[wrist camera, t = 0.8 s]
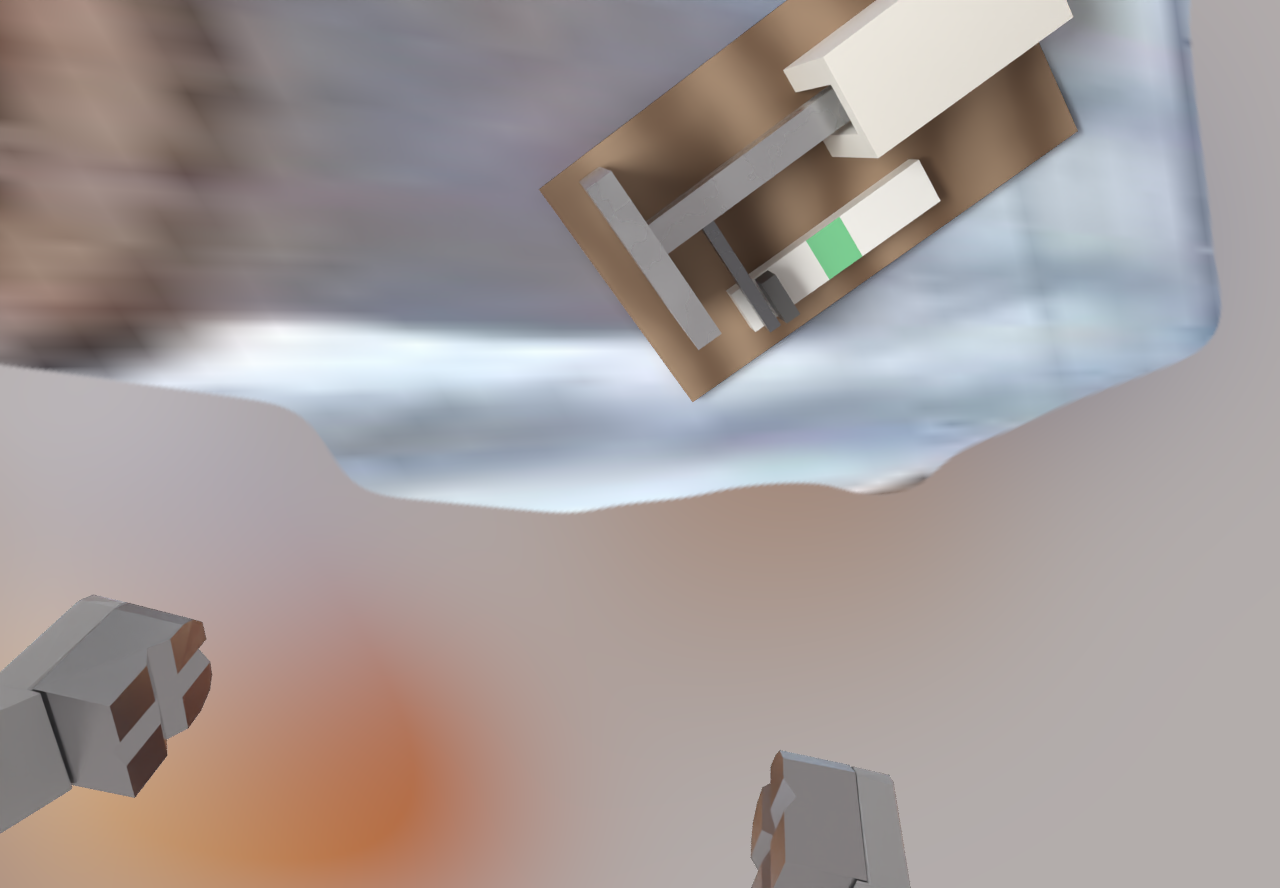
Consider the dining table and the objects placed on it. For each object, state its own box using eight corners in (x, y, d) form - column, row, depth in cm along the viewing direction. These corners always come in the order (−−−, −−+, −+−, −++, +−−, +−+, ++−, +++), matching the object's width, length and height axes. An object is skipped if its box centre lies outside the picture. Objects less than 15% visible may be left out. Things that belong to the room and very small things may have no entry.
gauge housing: (832, 156, 50) (878, 158, 43) (782, 70, 48) (823, 57, 41) (998, 35, 49) (1073, 17, 42) (954, -60, 47) (1026, -96, 40)
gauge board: (690, 397, 56) (692, 402, 55) (539, 188, 50) (539, 189, 49) (1068, 131, 52) (1077, 131, 51) (953, -127, 46) (961, -133, 46)
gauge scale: (750, 327, 53) (755, 332, 52) (725, 290, 52) (730, 294, 51) (929, 199, 52) (940, 200, 50) (908, 159, 51) (919, 159, 49)
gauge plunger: (705, 362, 53) (738, 407, 44) (579, 181, 49) (586, 189, 39) (960, 180, 51) (1052, 188, 42) (854, -28, 46) (931, -72, 37)
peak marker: (778, 317, 51) (786, 323, 50) (754, 279, 50) (761, 284, 49) (792, 308, 51) (800, 314, 50) (767, 270, 50) (775, 274, 49)
